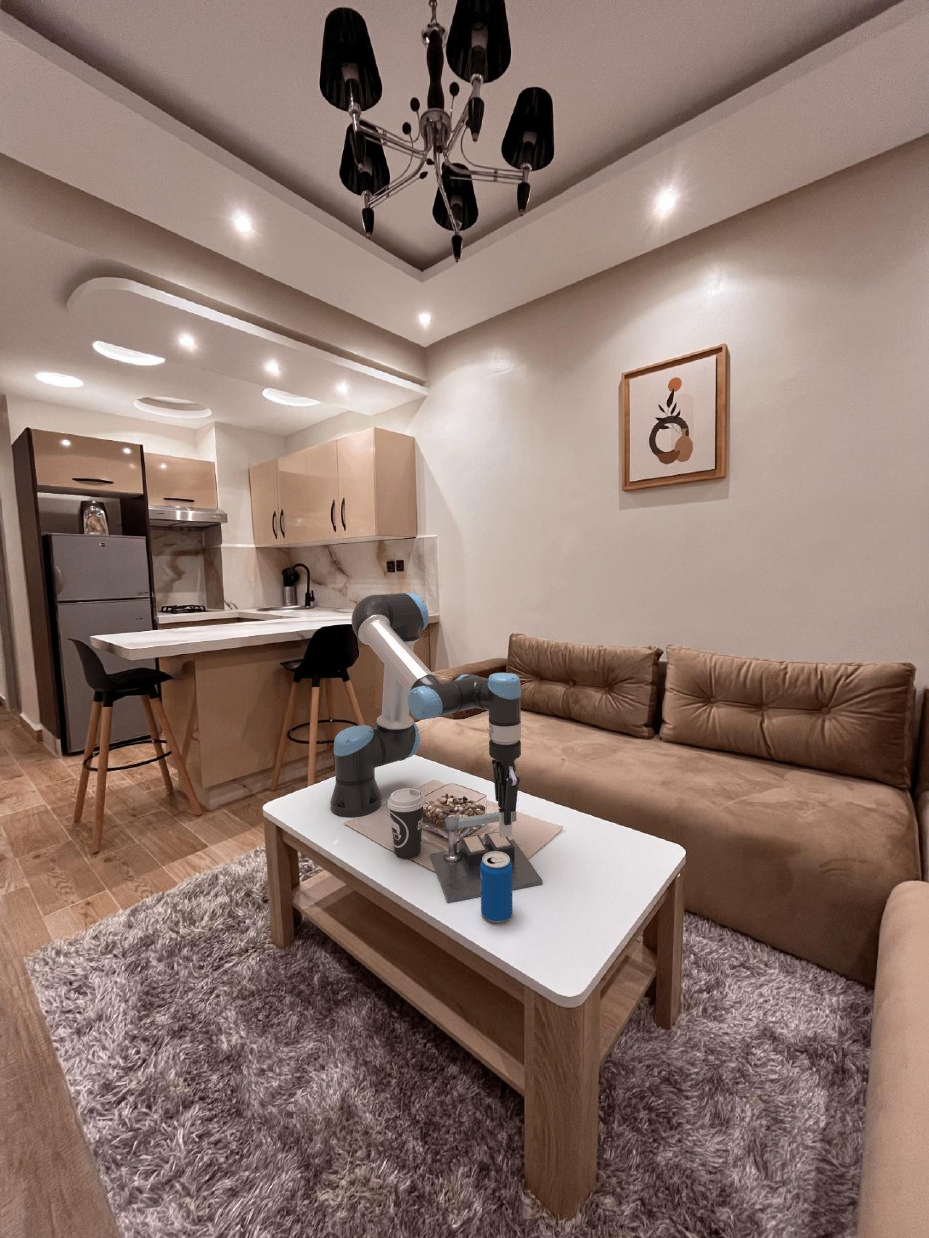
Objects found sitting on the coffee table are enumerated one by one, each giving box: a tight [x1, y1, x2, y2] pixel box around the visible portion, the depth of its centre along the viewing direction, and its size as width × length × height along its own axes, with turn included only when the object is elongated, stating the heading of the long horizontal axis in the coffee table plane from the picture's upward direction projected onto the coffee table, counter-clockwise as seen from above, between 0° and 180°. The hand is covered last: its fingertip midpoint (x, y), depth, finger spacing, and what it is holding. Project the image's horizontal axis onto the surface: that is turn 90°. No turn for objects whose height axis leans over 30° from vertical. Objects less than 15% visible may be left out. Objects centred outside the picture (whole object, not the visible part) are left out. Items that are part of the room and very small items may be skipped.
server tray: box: [429, 830, 543, 904], centre depth 118 cm, size 18×22×8 cm
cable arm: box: [445, 811, 517, 831], centre depth 123 cm, size 3×18×2 cm, turn 105°
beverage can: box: [480, 851, 514, 924], centre depth 102 cm, size 6×6×12 cm
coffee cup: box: [386, 787, 426, 860], centre depth 125 cm, size 10×10×15 cm
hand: (505, 834), depth 120 cm, fingers closed
